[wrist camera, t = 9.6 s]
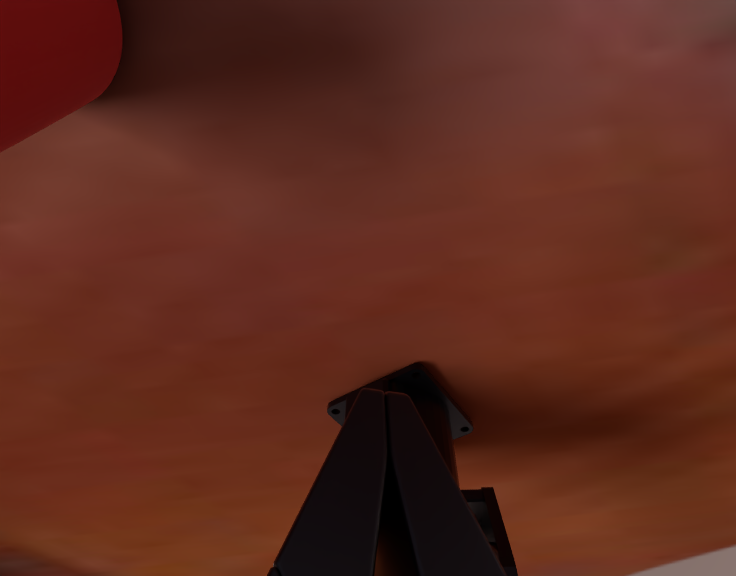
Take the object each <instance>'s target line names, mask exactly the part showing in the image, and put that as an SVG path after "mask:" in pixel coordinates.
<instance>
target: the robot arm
mask: <svg viewBox="0 0 736 576" xmlns="http://www.w3.org/2000/svg"><path fill="white" fill-rule="evenodd" d="M415 372H419V373H415ZM327 413H328V414H329V415H330V416H331V417H332V418H333V419H334V420H335V421H337V422H338V423H339V424H340V425H341V426H342V428H341V430H340V432H339V434H338V436H337V438H336V440H335V442H334V444H333V446H332V448H331V450H330V452H329V454H328V456H327V458H326V460H325V462H324V463H323V465H322V467H321V469H320V471H319V473H318V475H317V477H316V479H315V481H314V483H313V485H312V487H311V489H310V491H309V493H308V495H307V497H306V499H305V501H304V503H303V505H302V507H301V509H300V511H299V513H298V515H297V517H296V519H295V521H294V523H293V525H292V527H291V529H290V531H289V533H288V535H287V537H286V539H285V541H284V543H283V545H282V547H281V549H280V551H279V553H278V555H277V557H276V559H275V561H274V565H273V567H272V568H271V569H270V570H269V572H268V574H267V576H518V574H517V569H516V565H515V561H514V557H513V554H512V550H511V547H510V543H509V540H508V537H507V533H506V530H505V526H504V523H503V520H502V516H501V513H500V509H499V506H498V503H497V499H496V496H495V492H494V489H493V487H481V489H479V490H460V488H459V480H458V473H457V466H456V459H455V452H454V445H453V440H454V439H456V438H459V437H462V436H464V435H467V434H469V433H471V432H472V431H473V424H472V421H471V420H470V419H469V418H468V417H467V415H466V414H465V413H464V412H463V411H462V410H461V409H460V407H459V406H458V405H457V404H456V403H455V402H454V400H453V399H452V398H451V397H450V396H449V395H448V394H447V392H446V391H445V390H444V389H443V388H442V387H441V386H440V384H439V383H438V382H437V381H436V380H435V379H434V377H433V376H432V375H431V374H430V373H429V372H428V371H427V369H426V368H425V367H424V366H423V365H421V364H412V365H409V366H407V367H405V368H403V369H401V370H399V371H396V372H394V373H392V374H390V375H388V376H385V377H383V378H381V379H379V380H377V381H375V382H372V383H370V384H368V385H366V386H364V387H362V388H359V389H357V390H355V391H353V392H351V393H349V394H346V395H344V396H342V397H340V398H338V399H335V400H333V401H331V402H330V403H329V404H328V408H327Z"/></svg>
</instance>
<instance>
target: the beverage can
mask: <svg viewBox="0 0 736 576" xmlns="http://www.w3.org/2000/svg"><path fill="white" fill-rule="evenodd" d="M121 53H122V24H121V18H120V13H119V9H118V4H117V1H116V0H0V152H2V151H4V150H6V149H7V148H9V147H11V146H13V145H15V144H17V143H19V142H20V141H22V140H24V139H26V138H28V137H29V136H31V135H33V134H35V133H37V132H38V131H40V130H42V129H44V128H45V127H47V126H49V125H51V124H53V123H54V122H56V121H58V120H60V119H62V118H63V117H65V116H67V115H69V114H70V113H72V112H74V111H76V110H77V109H79V108H81V107H82V106H84V105H86V104H88V103H89V102H91V101H93V100H94V99H96V98H97V97H98V96H99V95H101V94H102V93H103V92H104V91H105V90H106V88H107V87H108V86H109V84H110V83H111V81H112V80H113V78H114V76H115V74H116V71H117V69H118V66H119V62H120V58H121Z"/></svg>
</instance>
